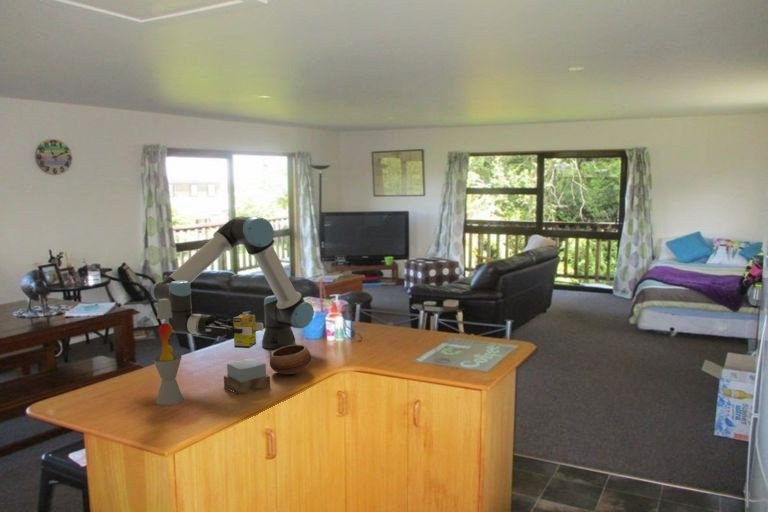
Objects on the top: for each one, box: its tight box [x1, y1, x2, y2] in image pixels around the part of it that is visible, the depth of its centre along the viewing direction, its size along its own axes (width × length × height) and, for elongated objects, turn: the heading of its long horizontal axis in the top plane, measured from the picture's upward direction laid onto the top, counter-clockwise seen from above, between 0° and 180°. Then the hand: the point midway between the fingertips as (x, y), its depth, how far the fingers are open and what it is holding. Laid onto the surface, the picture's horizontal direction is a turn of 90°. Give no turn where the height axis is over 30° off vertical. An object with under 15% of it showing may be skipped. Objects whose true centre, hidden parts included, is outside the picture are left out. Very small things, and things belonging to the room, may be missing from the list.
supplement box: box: [233, 313, 257, 349], centre depth 210 cm, size 6×6×11 cm
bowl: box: [269, 344, 312, 376], centre depth 227 cm, size 16×16×10 cm
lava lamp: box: [152, 299, 184, 406], centre depth 198 cm, size 9×9×35 cm
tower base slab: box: [223, 374, 271, 396], centre depth 212 cm, size 12×12×4 cm
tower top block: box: [226, 357, 267, 382], centre depth 212 cm, size 10×10×4 cm
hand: (256, 329), depth 208 cm, fingers closed on supplement box, 6 cm apart
